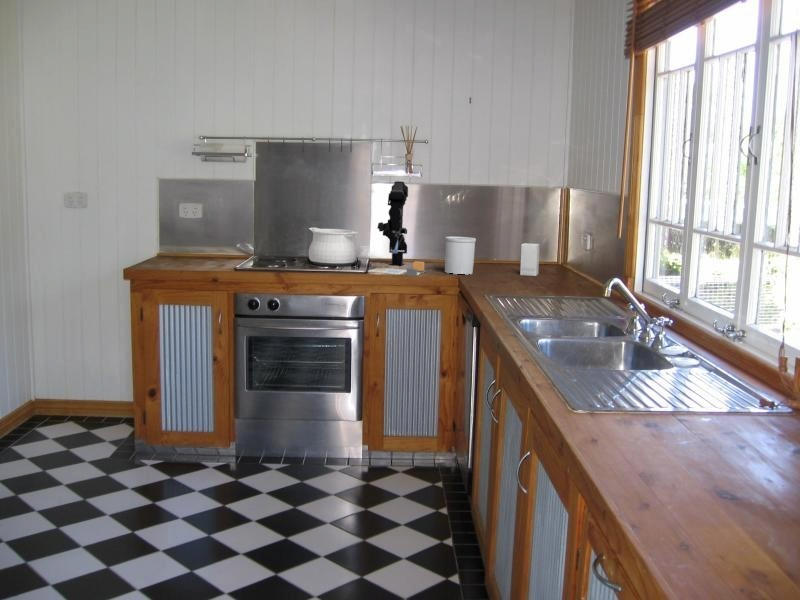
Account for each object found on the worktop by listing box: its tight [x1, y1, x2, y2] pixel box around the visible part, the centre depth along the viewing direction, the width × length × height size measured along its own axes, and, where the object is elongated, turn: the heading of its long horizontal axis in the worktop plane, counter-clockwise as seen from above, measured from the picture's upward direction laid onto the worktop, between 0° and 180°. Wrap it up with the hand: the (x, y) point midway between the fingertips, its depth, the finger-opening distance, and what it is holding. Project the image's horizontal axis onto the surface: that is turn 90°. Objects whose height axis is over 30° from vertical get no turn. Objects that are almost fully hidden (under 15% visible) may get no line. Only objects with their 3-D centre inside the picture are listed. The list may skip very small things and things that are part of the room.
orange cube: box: [412, 260, 425, 271], centre depth 430 cm, size 4×4×4 cm
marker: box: [390, 241, 398, 254], centre depth 429 cm, size 3×3×8 cm
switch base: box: [406, 268, 427, 277], centre depth 427 cm, size 14×5×3 cm, turn 160°
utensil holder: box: [444, 236, 477, 276], centre depth 435 cm, size 15×15×18 cm
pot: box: [308, 227, 359, 267], centre depth 449 cm, size 28×24×17 cm
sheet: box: [367, 267, 407, 275], centre depth 431 cm, size 15×16×1 cm
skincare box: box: [519, 242, 540, 277], centre depth 439 cm, size 8×7×16 cm
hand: (394, 249), depth 429 cm, fingers closed on marker, 3 cm apart
